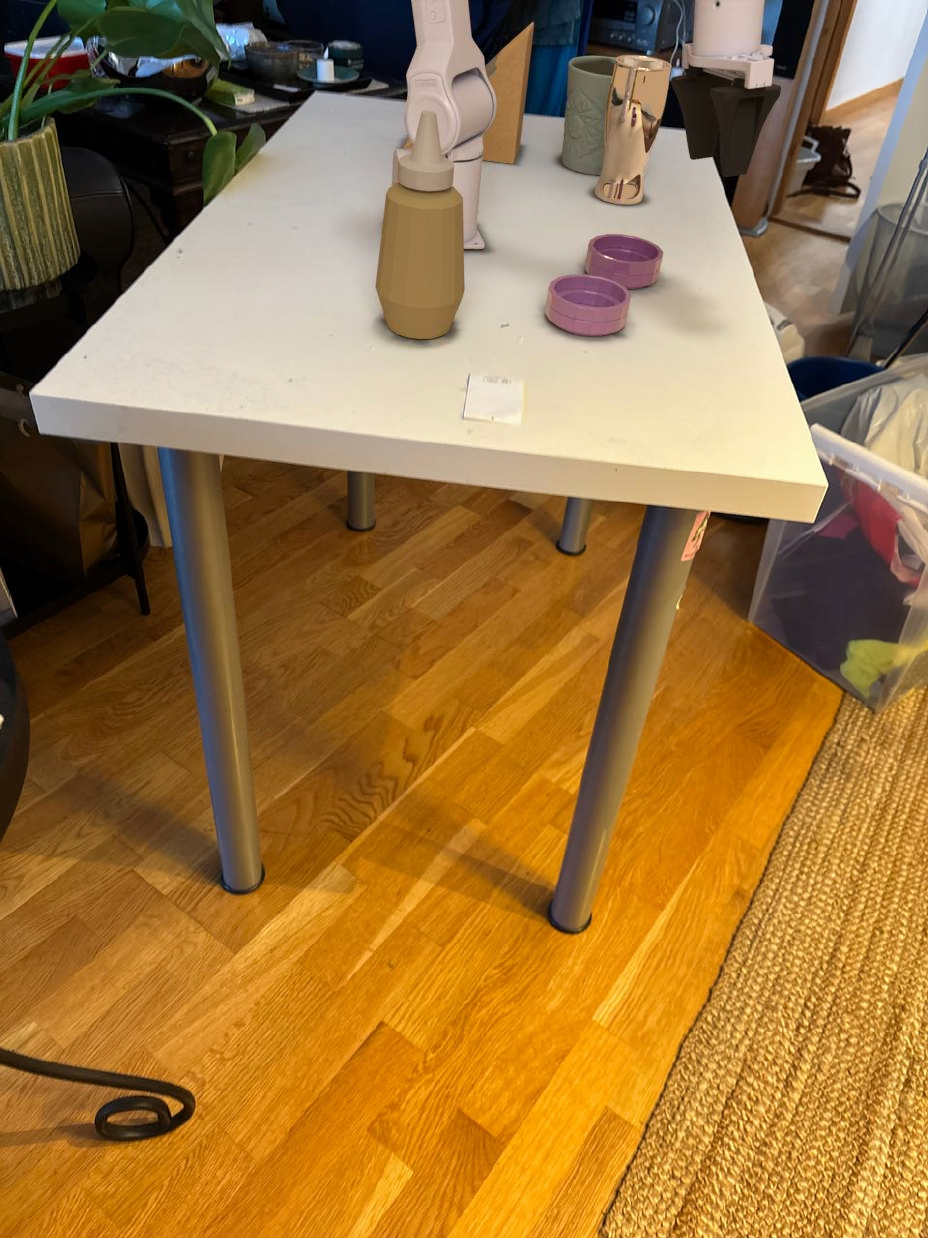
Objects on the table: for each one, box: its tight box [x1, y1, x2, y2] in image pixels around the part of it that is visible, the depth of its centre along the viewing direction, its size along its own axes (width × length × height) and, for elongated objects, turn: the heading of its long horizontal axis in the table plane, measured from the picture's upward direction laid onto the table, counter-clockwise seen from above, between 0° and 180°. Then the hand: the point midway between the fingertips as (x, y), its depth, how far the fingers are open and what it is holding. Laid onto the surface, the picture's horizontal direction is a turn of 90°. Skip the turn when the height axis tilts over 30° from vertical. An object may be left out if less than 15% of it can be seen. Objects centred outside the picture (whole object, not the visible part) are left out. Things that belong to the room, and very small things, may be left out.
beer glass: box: [594, 54, 672, 206], centre depth 111 cm, size 7×7×15 cm
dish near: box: [544, 273, 632, 337], centre depth 87 cm, size 8×8×3 cm
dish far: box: [584, 233, 664, 290], centre depth 96 cm, size 8×8×3 cm
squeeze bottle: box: [374, 111, 466, 340], centre depth 78 cm, size 8×8×18 cm
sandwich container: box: [402, 21, 535, 165], centre depth 120 cm, size 9×15×15 cm, turn 81°
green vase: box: [561, 55, 617, 176], centre depth 120 cm, size 10×10×12 cm
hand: (717, 165), depth 85 cm, fingers open, 7 cm apart
